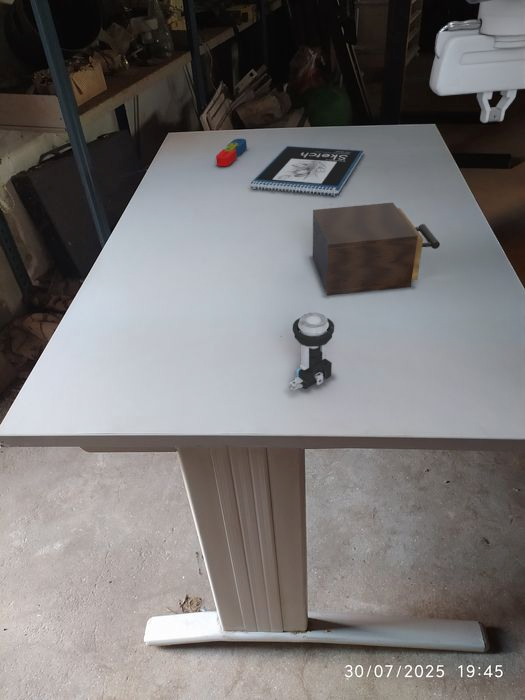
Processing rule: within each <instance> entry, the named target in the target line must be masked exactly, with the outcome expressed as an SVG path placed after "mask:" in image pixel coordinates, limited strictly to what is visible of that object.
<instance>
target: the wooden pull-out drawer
mask: <svg viewBox="0 0 525 700" xmlns="http://www.w3.org/2000/svg"><path fill="white" fill-rule="evenodd" d="M397 209H398V210H399V211H400V213H401V214H402V215H403V217H404V218H405V219H406V221H407V222H408V223H409V225H410V226H411V227H412V229H413V230H414V231H415V233H416V234H417V235H418V239H417V246H416V253H415V260H414V268H413V275H412V281H418V276H419V270H420V265H421V257H422V250H423V248H432V249H433V250H437V249H438V248H439V247H440V246H441V243H440V242H439V240H438V239H437V238H436V236H435V235H434V234H433V232H431V230H430V229H429V227H427V225H426V224H424V223H421V224H419V226H415V225H414V224H413V223H412V222H411V220H410V219H409V218H408V216H407V215H406V214H405V212H404V211H403V210H402V208H401V207H397ZM424 239H425V241H426V242H424Z"/></svg>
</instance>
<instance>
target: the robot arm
mask: <svg viewBox="0 0 525 700" xmlns="http://www.w3.org/2000/svg"><path fill="white" fill-rule="evenodd" d="M465 1H466V2H467V3H468V4H470V5H474V4H478V3H479V7H478V15H477V18H476V19H468V20H464V21H457V20H454V21H450V22H448V23H447V24H446V25H444V26H443V27H441V28H440V29H439V31H438V33H436V37H435V43H434V45H435V46H434V53H435V55H434V59H433V63H432V67H431V72H430V77H429V82H428V83H429V88H430V90H432V92H433V93H435V94H436V95H437V96H441V97H445V96H456V95H469V94H476V100H477V102H478V104H479V106H480V109H481V111H480V117H479V121H480V122H481V123H483V124H487V123H498V122H499V123H500V122H503V120H504V118H505V114H506V113H505V112H506V110H507V109H508V108H509V106H510V105H511V104H512V103H513V101H514V100H515V98H516V96H517V92H518V90H525V0H465ZM494 92H500V95H501V96H502V97H501V99H500V100H499V101H498V103H497V104H496V106H494V107H491V106H490V104H489V103H490V102H489V100H492V98H493V93H494Z"/></svg>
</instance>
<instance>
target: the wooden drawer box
mask: <svg viewBox="0 0 525 700" xmlns="http://www.w3.org/2000/svg"><path fill="white" fill-rule="evenodd" d="M397 208H398V207H397V206H396V204H395V203H394V202H383V203H373V204H372V203H371V204H362V205H360V204H359V205H353V206H352V205H351V206H350V205H349V206H340V207H339V206H338V207H330V208H318V209H317V208H316V209H312V260H313V262H314V265H315V268H316V271H317V274H318V275H319V278H320V282H321V284H322V286H323V289H324V292H325V295H326V296H335V295H336V296H337V295H345V294H346V295H347V294H355V293H364V292H365V293H366V292H374V291H375V292H376V291H385V290H394V289H406V288H411V287H412V281H413V280H412V275H413V268H414V260H415V253H416V246H417V239H418V235H417V234H416V233H415V231H414V230H413V229H412V227H411V226H410V225H409V223H408V222H407V221H406V219H405V218H404V217H403V215H402V214H401V213H400V211H399V210H398V209H397Z"/></svg>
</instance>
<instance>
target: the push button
mask: <svg viewBox="0 0 525 700" xmlns="http://www.w3.org/2000/svg"><path fill="white" fill-rule="evenodd" d="M292 332H293V334H294V339H295V340H296V341H297V342H298V343H299V344H300V365H299V366H298V367H297V368H296V369H295V378H294V379H292V380H291V381H290V382H289V385H291V386H290V387H289V389H290V390H291V391H293V392H294V391H296V390H298V389H301V388H303V389H304V390H307V389H308V388H310V387H312V386H313V385H315V384H316V385H317V386H320V384H322V383H323V382H324V379H329V378H330V377H332V363H333V362H332V361H330V360H329V359H327V357H326V356H327V355H326V345H327V344H328V343H329V342H330V340H332V339H333V334H334V332H335V324H334V322H333V321H332V320H331V319H330V318H329V317H327V316H326V315H324V314H323V313H320V312H314V311H313V312H306V313H304V314H303V315H302V316H300V317H299V318H297V319H295V321H293V324H292Z"/></svg>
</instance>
